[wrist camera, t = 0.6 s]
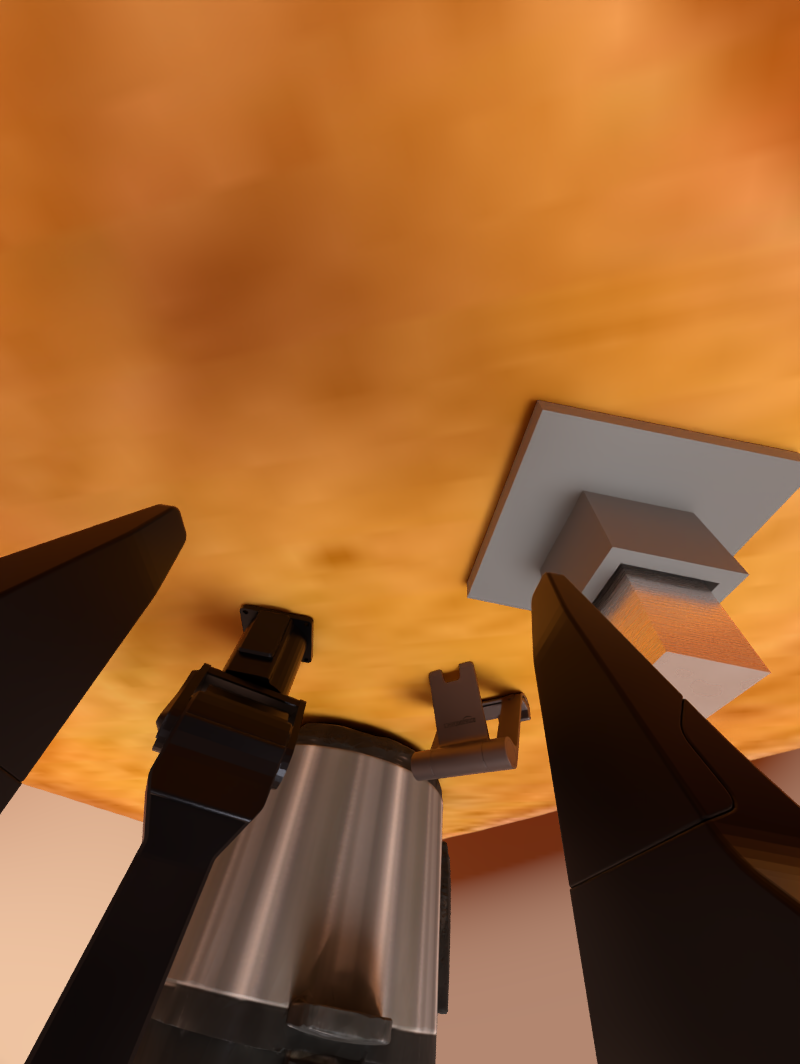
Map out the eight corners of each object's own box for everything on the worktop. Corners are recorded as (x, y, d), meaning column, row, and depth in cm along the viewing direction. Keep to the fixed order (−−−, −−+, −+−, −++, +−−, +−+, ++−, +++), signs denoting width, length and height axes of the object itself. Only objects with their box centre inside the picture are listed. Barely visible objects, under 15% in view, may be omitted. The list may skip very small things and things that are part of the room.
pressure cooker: (328, 807, 64) (244, 1164, 39) (202, 730, 51) (-44, 1192, 26) (491, 795, 52) (522, 1300, 27) (382, 690, 39) (245, 1479, 14)
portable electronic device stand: (450, 714, 40) (448, 805, 34) (410, 677, 37) (399, 769, 30) (528, 698, 37) (543, 796, 30) (491, 654, 33) (499, 754, 27)
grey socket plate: (648, 619, 28) (690, 702, 23) (466, 583, 28) (468, 657, 23) (797, 452, 20) (918, 524, 14) (537, 399, 20) (565, 452, 14)
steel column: (625, 575, 24) (701, 722, 16) (563, 562, 24) (610, 703, 16) (663, 525, 21) (773, 672, 14) (593, 511, 21) (665, 650, 14)
